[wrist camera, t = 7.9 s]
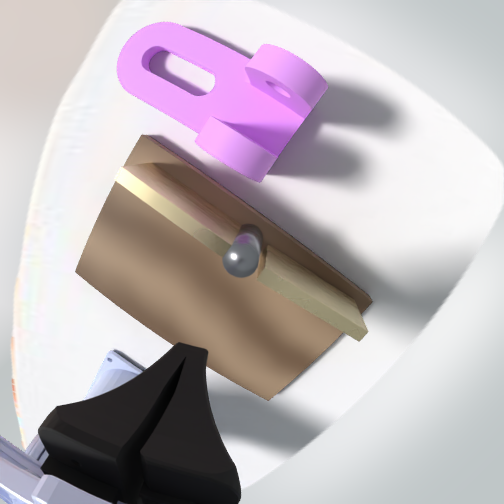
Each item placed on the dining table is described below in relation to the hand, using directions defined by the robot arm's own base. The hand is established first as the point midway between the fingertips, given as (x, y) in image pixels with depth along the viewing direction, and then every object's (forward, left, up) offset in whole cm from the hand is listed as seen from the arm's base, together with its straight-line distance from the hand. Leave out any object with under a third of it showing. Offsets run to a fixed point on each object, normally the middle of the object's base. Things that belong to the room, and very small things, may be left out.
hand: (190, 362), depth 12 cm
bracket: (+10, +8, -10) cm, 16 cm away
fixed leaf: (+4, +4, -8) cm, 10 cm away
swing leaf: (+4, -4, -8) cm, 10 cm away
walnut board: (-1, 0, -9) cm, 9 cm away
